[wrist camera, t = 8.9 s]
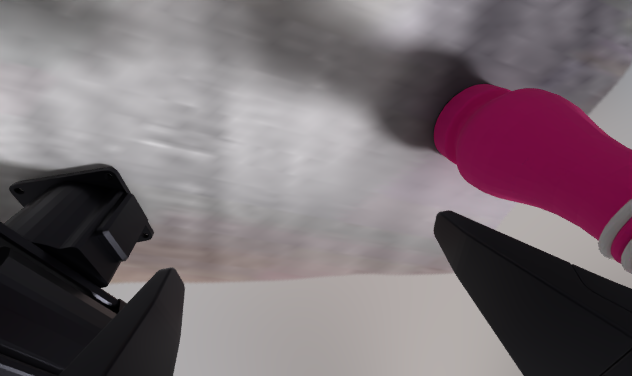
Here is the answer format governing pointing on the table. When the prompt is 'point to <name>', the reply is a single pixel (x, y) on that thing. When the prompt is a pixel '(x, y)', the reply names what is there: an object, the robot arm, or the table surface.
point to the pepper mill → (542, 159)
